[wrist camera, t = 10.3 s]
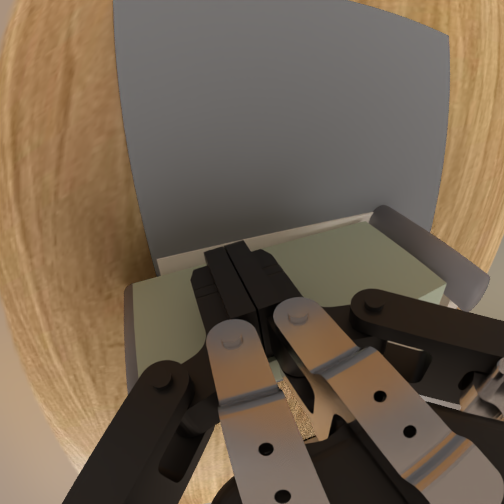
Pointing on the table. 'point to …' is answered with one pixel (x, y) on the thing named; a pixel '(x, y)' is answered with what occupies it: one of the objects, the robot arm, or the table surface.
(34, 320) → the table surface
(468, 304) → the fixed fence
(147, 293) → the fence panel
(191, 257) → the mat
